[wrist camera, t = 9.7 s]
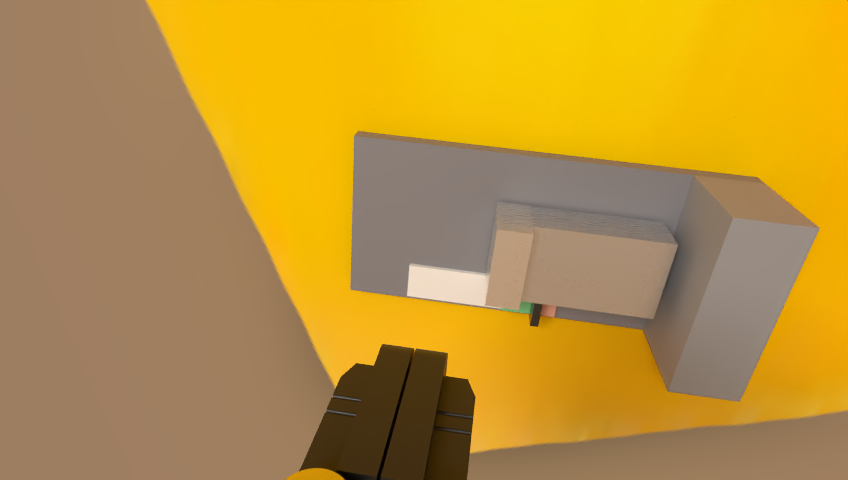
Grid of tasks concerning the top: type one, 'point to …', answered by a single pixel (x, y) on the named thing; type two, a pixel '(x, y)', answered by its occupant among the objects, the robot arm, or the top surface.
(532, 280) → the block
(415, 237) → the base
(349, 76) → the top surface
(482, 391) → the top surface
